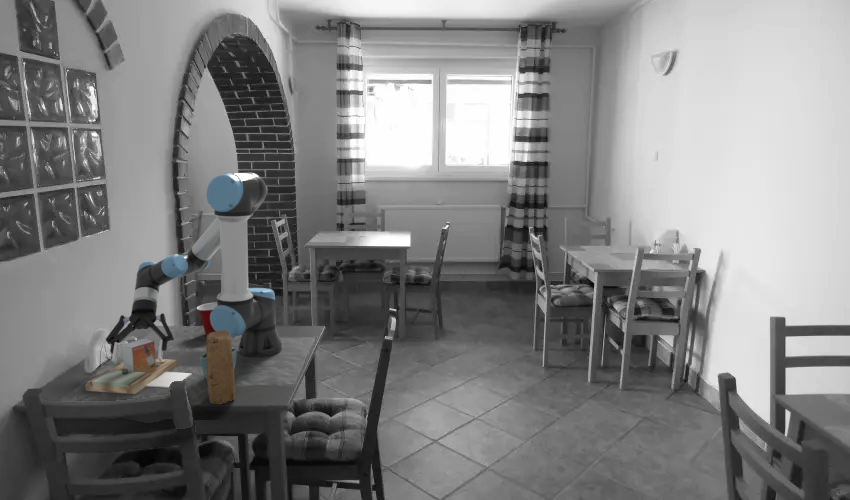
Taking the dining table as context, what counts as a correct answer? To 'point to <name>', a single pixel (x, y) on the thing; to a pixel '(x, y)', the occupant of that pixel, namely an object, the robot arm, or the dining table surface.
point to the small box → (139, 356)
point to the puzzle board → (128, 378)
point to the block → (220, 367)
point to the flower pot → (204, 361)
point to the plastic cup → (207, 316)
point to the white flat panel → (168, 379)
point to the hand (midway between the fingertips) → (137, 361)
